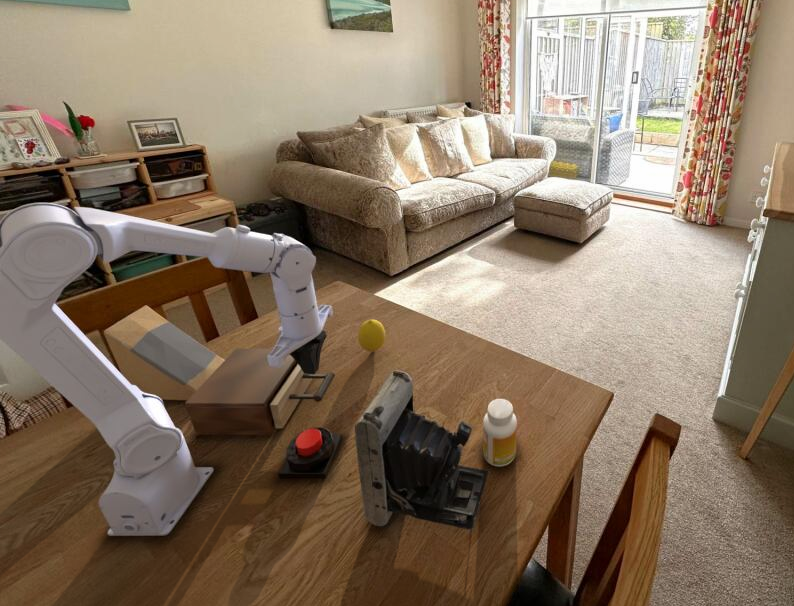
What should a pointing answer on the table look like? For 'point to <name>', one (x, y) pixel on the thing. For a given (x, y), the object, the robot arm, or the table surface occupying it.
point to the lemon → (371, 335)
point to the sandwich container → (160, 356)
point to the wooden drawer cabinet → (238, 395)
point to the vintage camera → (413, 462)
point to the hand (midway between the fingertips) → (311, 371)
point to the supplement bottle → (499, 433)
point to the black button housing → (311, 458)
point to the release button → (309, 442)
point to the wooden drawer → (295, 393)
